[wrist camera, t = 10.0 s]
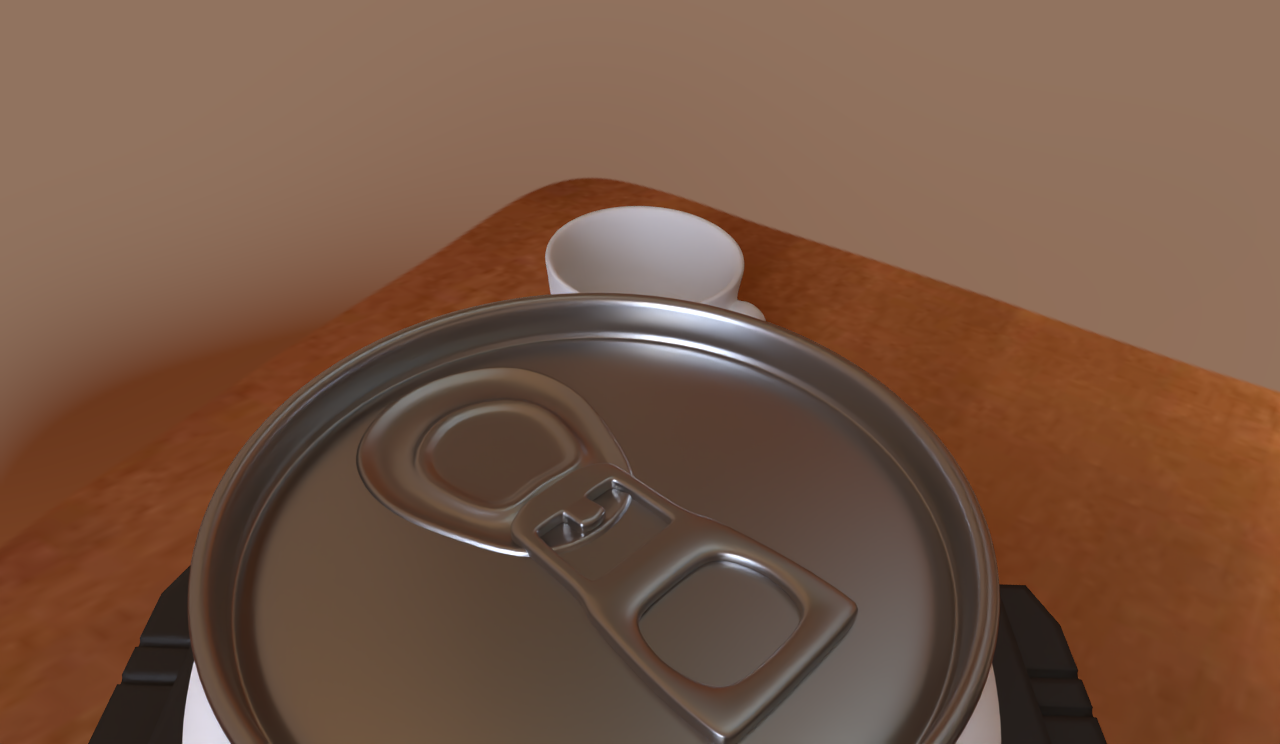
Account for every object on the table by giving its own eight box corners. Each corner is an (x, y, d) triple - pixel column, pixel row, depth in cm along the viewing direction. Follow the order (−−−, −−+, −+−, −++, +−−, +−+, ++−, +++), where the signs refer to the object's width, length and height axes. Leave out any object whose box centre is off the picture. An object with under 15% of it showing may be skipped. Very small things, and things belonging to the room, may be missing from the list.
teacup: (463, 375, 38) (455, 272, 35) (601, 261, 45) (603, 167, 42) (692, 474, 35) (703, 369, 32) (804, 334, 42) (822, 236, 39)
